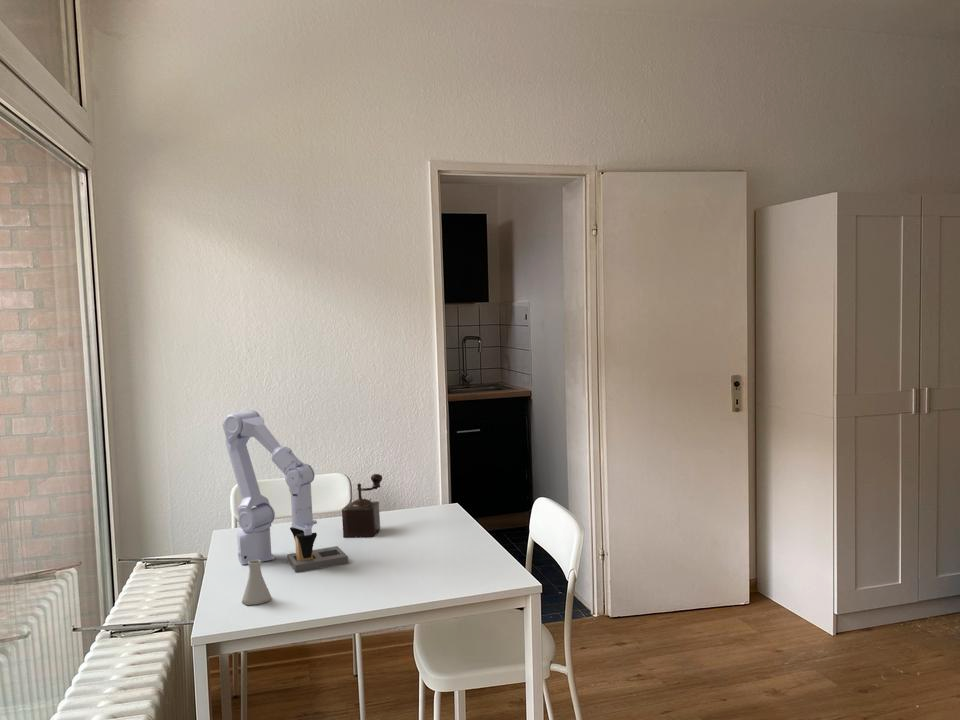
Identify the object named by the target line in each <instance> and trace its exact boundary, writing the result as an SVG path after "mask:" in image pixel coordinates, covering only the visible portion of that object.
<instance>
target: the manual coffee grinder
mask: <svg viewBox="0 0 960 720" xmlns="http://www.w3.org/2000/svg"><path fill="white" fill-rule="evenodd" d="M370 481H371V482H372V487H365V488H362V483H357V484H356V486H357V488H356V490H357V492H358V499H356V500H354V501H352V502H349V503H347V505H345V506H344V507H343V508H342V509H341V516H342V517H341V518H342V519H341V520H342V537H343V538H346V539H347V538H350V539H353V538H354V539H355V538H374V537H375V536H376V535H377V534H379V532H380V531H381V520H380V519H381V518H380V517H381V515H380V514H381V513H380V502H379V501H371V500H372V498H370V499H367V498H363V497H362V492H367V491H373V490H377V489H378V488H381V482H382V481H383V475H381V474H380V473H373V474H372V475H371V476H370Z"/></svg>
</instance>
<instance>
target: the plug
mask: <svg viewBox="0 0 960 720" xmlns="http://www.w3.org/2000/svg"><path fill="white" fill-rule="evenodd" d="M301 534H302V533H301ZM294 542H295V553H296V561H303V560H309V559H313V550H314V548H313V549H312V555H311V558H305V559H304V558H303V555H302V551H301V546H300V543H299V540H298V538H297V537H296V536H295V539H294Z"/></svg>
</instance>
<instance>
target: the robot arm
mask: <svg viewBox="0 0 960 720" xmlns="http://www.w3.org/2000/svg"><path fill="white" fill-rule="evenodd" d="M222 427H223V428H222V429H223V431H224V434H225V435H224V436H225V445H226V448H227V451H228V452H227V453H228V455H229V460H230V464H231V466H232V469H233V472H234V473H233V474H234V477H235V479H236V483H237V486H238V490H239V493H240V498H241V502H240V504H239V505H238V506H237V508H236V509H237V513H238V516H237V517H238V519H237V520H238V521H237V522H238V525H239V527H240V528H241V529H242V531H238V532H237V557H238V560H239V562H240V564H241V566H243V565H244V566H245V565H248V562H249V561H251V560H261V563H262V562H267V561H274V560H276V559H275V556H274V554H273V553H272V542H271V541H272V540H271V527H272V523H273V522H274V521H275V517H276V514H275V513H276V512H275V509H274V508H273V506H271V504H270V501H269V498H267V497H266V496H265V495H262V494H261V491H260V487H259V483H258V480H257V477H256V473H255V471H254V466H253V463H252V460H251V457H250V453H249V450H248V447H247V444H248V442H249V440H250V439H251V438H255V440H257V441H258V442H259V444H261V445H262V446H263V447H264V448H265V449H266V451H268V452H269V453H270V454H271V461H272V462H273V463H274V464H275V465H276V467H277V468H278V469H279V470H280V471H281V472H282V473H283V474H284V475H285V478H284V479H285V483H286V485H287V487H288V490H289V493H290V501H291V502H290V503H291V504H290V505H291V520H292V521H291V522H292V523H291V526H290V527H289V530H290V531H291V533H292V535H293V538H294V540H295V536H296V537H297V538H298V540H299V543H300V546H301V551H302V555H303V558H304V559H305V558H311V555H312V549H313V550H314V544H315V540H316V539H317V536H318V533H317V532H313V531H312V528H313V527H314V525H317V524H318V520H315V519H314V520H313V502H312V500H313V499H312V484H311V483H313V481H314V479H315V470H314V469H313V467H312V465H310V464H309V463H304V462H302V461H301V460H300V459H299V458H298V457H297V456H296V454H294V452H293V450H292V449H291V448H290V447H288V446H283V445H281V444H280V442H279V441H278V440H277V439H276V438H275V437H274V435H273V433H271V430H269V429H268V427H267V426H266V425H265V419H264V417H263V416H261V415H260V413H259V412H258V411H257V410H254V409H252V410H248V411H242V412H236V413H230V414H228V415H227V416H226V417H225V419H224V421H223V423H222ZM301 533H302V534H301Z"/></svg>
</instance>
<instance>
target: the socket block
mask: <svg viewBox="0 0 960 720" xmlns="http://www.w3.org/2000/svg"><path fill="white" fill-rule="evenodd" d="M286 558H287V562H288V564H289V565H290V567H291V568H292V569H293V571H294V572H295V573H301V572H306V571H311V570H317V569H324V568H328V567H333V566H340V565H341V566H342V565H347V564H348V563H349V557H348V555H347V553H345V552H344V551H343V550H342V549H341V548H340V547H339V546H338V545H337V546H329V547H324V548H316V549H313V559H309V560H303V561H296V552H294V553H287V554H286Z"/></svg>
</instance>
